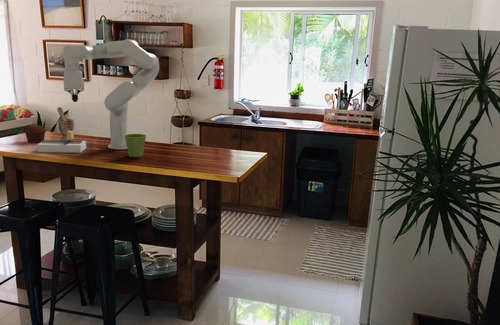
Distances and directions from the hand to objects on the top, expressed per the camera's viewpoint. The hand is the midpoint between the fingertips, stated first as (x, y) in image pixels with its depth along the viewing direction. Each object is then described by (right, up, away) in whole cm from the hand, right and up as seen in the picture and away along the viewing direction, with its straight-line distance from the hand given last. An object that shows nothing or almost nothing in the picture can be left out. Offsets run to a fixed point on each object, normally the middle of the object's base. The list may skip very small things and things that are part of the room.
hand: (75, 101), depth 239 cm
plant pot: (+37, -31, -12) cm, 50 cm away
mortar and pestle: (-14, -21, +19) cm, 32 cm away
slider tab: (0, -23, -6) cm, 24 cm away
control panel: (-5, -27, -5) cm, 28 cm away
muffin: (-28, -22, +12) cm, 38 cm away
